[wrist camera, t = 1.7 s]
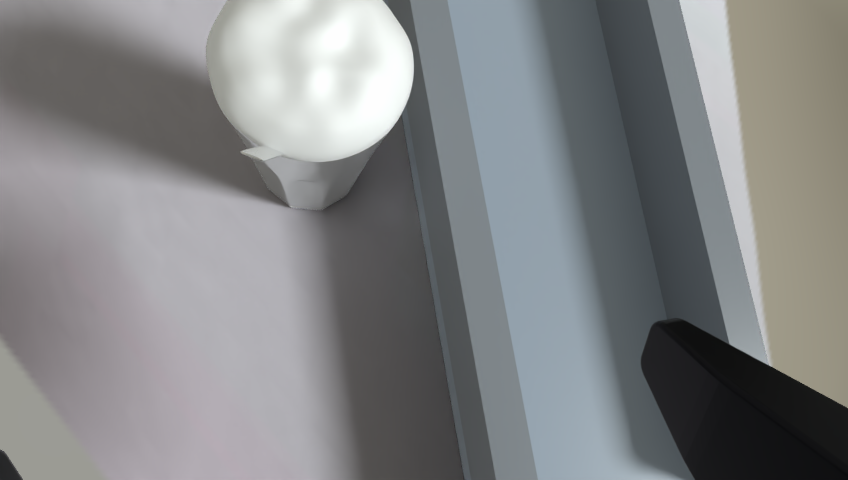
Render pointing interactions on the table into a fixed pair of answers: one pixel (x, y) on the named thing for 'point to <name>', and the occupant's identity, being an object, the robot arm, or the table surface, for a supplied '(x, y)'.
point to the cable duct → (566, 226)
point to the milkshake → (310, 89)
